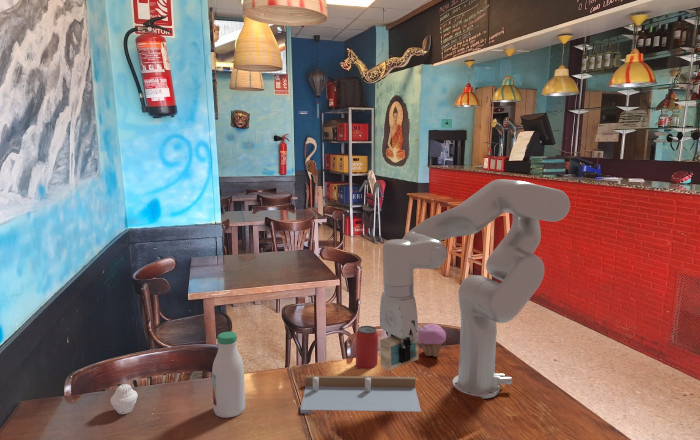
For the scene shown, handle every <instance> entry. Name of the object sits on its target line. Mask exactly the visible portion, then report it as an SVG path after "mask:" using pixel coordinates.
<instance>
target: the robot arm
mask: <svg viewBox="0 0 700 440" xmlns="http://www.w3.org/2000/svg"><path fill="white" fill-rule="evenodd" d="M570 209H571V202H570V198H569V196H568V195H567V193H565V191H563V190H561V189H558V188H553V187H548V186H545V185H540V184H535V183H532V182H528V181H522V180H514V179H505V178H503V179H502V178H500V179H494V180H491V181H490V182H488V183H487V184H486V185H484V186H483V187H481V188H480V189H479V190H477V191H476V192H475V193H474V194H472V195H470V196H469V197H468V198H467V199H465V200H464V201H463V202H461V203H460V204H458V205H457V206H455V207H453V208H449V209H447V210H445V211H443V212H440V213H438V214H435V215H432V216H431V217H428V218H427V219H424V220H423V221H422V222H420V223H419V224H417V225H416V226H414V227H412V229H410V230H409V231H408V232H407V233H406V234H404V236H403V237H402V238H397V239H396V238H394V239H393V238H392V239H389V240H385V242H383V244H382V275H383V277H382V281H383V283H382V284H383V285H382V286H383V291H382V293H381V296H380V304H379V305H380V306H379V327H380V328H381V330H382V331H384V332H385V334H386V335H387V338H388V337H391V336H396V337H398V338H400V344H401V347H400V348H399V362H400V363H404V362H407V361H409V360H410V346H412V344H413V343H416V342H418V343H419V342H420V340H419V338H418V336H417V333H418V332H419V323H418V322H419V320H418V319H419V318H418V309H417V302H416V297H415V288H414V287H415V285H414V284H415V283H414V282H415V281H414V279H415V278H414V273H415V272H414V270H415V269H417V270H418V269H424V270H425V269H426V270H428V269H429V270H430V269H431V270H432V269H437V268H439V267H441V266H442V265H443V264H444V263H445V262H446V260H447V257H448V251H447V250H448V249H447V247H446V245H444V243H442V242H441V241H443V240H447V239H450V238H455V237H465V236H470V235H474V234H478V233H479V232H481V230H483V229H484V228H485V227H486V226H489V224H490V223H491V222H493V221H495V220H496V219H497V218H498V217H500V216H502V215H503V214H504V213H507V214H512V223H511V227H510V229H509V231H508V232H507V233H506V235H504V237H503V239H502V240H501V241H500V242H499V244H498V245H497V246H496V248H494V250H493V251H492V252H491V254H490V255H489V256H488V258H487V260H486V263H485V268H486V272H488V274H489V276H491V277H493V278H495V279H496V280H494V279H492V278H489V277H486V276H483V275H479V274H477V275H475V274H474V275H469V276H467V277H466V278H464V279H463V280H462V282H461V283H460V285H459V288H458V304H459V311H460V329H459V330H460V332H459V333H460V335H459V351H458V352H459V355H458V356H459V357H458V375H456V376H455V377H453V379H452V385H453V387H454V388H455V389H456V390H458V391H459V392H461V393H463V394H465V395H466V394H467V395H468V396H474V397H479V398H480V399H483V400H485V399H486V400H487V399H491V398H494V397H496V396H497V395H499V393H500V386H501V385H513V378H512V377H511V376H506V375H505V374H504V373H496V372H495V368H496V367H495V365H496V353H497V351H496V348H497V335H498V334H497V333H498V331H497V329H498V328H497V323H499V324H505V323H508V322H511V321H512V320H513V319H515V318H516V316H517V315H518V314H520V313H521V310H522V309H523V308H524V307H525V305H527V303H528V302H529V301H530V299H531V298H532V296H534V294H535V292H537V290H538V289H539V287H540V286H541V283H542V282H543V279H544V276H545V265H544V262H543V260H542V259H541V258H540V257H539V256H538V255H536V254H534V253H535V251H536V250H537V248H538V246H540V245H539V244H540V243H541V238H542V235H541V234H542V231H541V230H542V229H541V224H540V221H546V222H549V223H550V222H553V223H554V222H555V223H556V222H559V221H562V220H563V219H564V218H566V217H567V215H568V214H569V212H570ZM497 280H499V281H501V282H499V281H497ZM405 338H407V340H406V341H405Z"/></svg>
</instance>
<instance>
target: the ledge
mask: <svg viewBox="0 0 700 440" xmlns="http://www.w3.org/2000/svg"><path fill="white" fill-rule="evenodd" d="M299 410H300V414H306V415H307V414H310V415H311V414H314V415H315V414H316V412H314V411H343V412H344V411H347V412H348V411H350V412H352V411H353V412H360V411H361V412H416V413H418V412H420V413H421V412H422V410H421V405H420V401H419V397H418V393H417V390H416V376H378V375H377V376H376V375H375V376H373V375H372V376H371V375H368V376H367V375H305V387H304V392H303V397H302V402H301V405H300V409H299Z"/></svg>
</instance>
